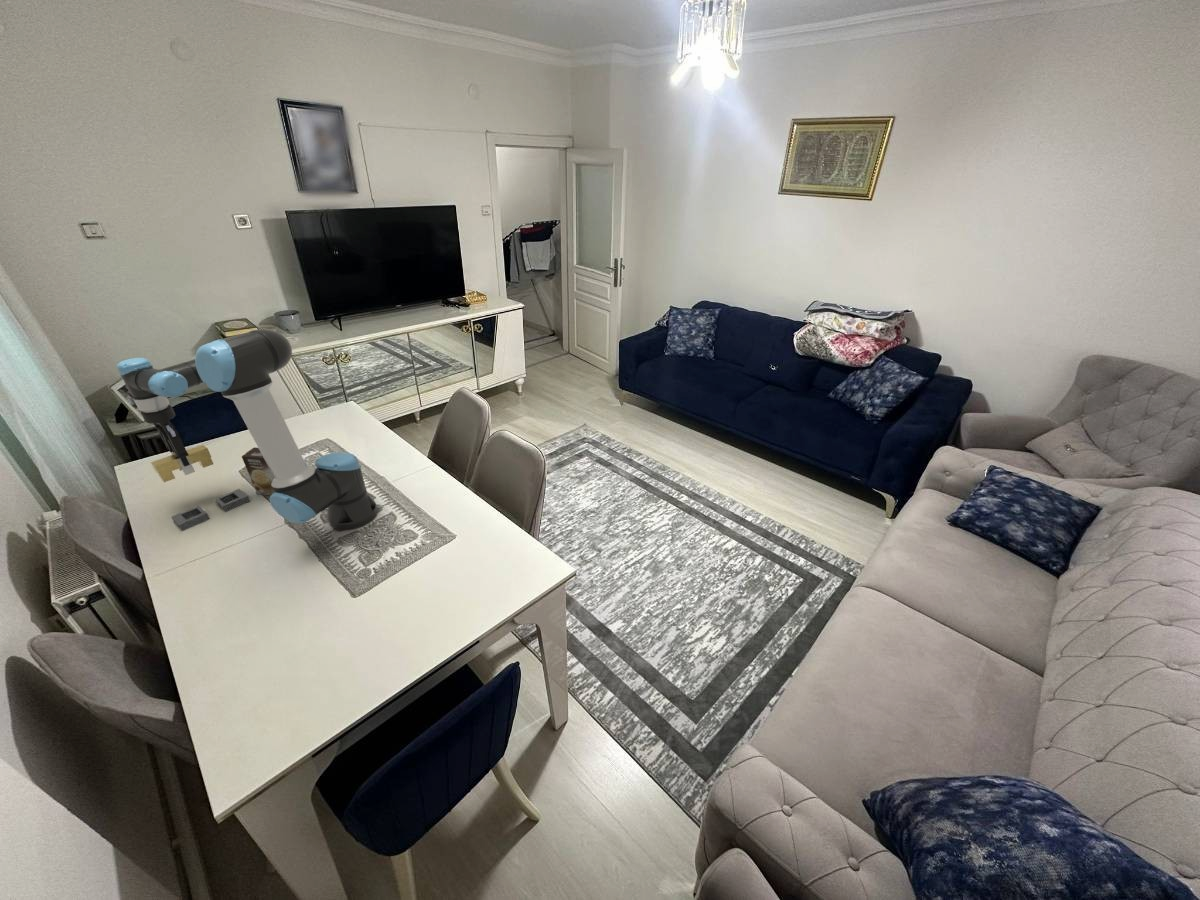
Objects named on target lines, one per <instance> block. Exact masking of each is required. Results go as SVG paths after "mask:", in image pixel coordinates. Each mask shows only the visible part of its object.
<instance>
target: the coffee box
mask: <svg viewBox="0 0 1200 900" xmlns="http://www.w3.org/2000/svg"><path fill="white" fill-rule="evenodd" d="M241 458H242V461H243V463H244V465H245V468H246V470H247V473H248V475H249V478H250V481H251V483H252V485H253V487H254V489H255V493H256V494H257V495H265V496H271V495H272V494H273V493H275V491H274V489H273V487H272V485H271V484H272V482H273V480H274V476H273V474H272V472H271V470H270V469H269V467H268V465H267V463H266V461H265V459H264V457H263V455H262V454H261V452H260V450H259V448H258V447H253V448H251V449H250V450H248V451H246V452H245V453H244V454H243V455H241Z"/></svg>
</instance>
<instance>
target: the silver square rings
mask: <svg viewBox="0 0 1200 900" xmlns="http://www.w3.org/2000/svg"><path fill="white" fill-rule="evenodd" d="M214 501H215V503H216V505H217V506H218V507H220V509H222V510H223V512H225V513H227V512H229V511H231V510H233V509H236V508H238V507H241V506H243V505H245V504H247V503H250V502H251V499H250V497H249V495H248V494H246V493H245V492H244V491H242V490H241V489H240V488H237V489H236V490H233V491H230V492H229V493H226V494H224V495H220V496H219V497H216V498H214ZM171 519H172V521H173V523H174V524H175V525H176V526H177V527H178V528H179V529H180V530H181V531H185V530H187V529H190V528H192V527H194V526H197V525H200V524H201V523H203V522H206V521H208V520H210V515H209V514H208V513H207V512H206V511H205V509H204V508H202V507H201V505H196V506H194V507H192V508H190V509H187V510H184V511H182V512H180V513H177V514H175V515H172V516H171Z"/></svg>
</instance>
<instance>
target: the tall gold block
mask: <svg viewBox="0 0 1200 900" xmlns="http://www.w3.org/2000/svg"><path fill="white" fill-rule="evenodd" d="M186 451H187V453H188V458H189V460H190V462H191V464H196V463H199V466H201V467H202V468H204V469H205V468H207V467H210V466H212V465H214V461H213V460H212V455H211V453H210V451H209V449H208V447H207V446H205V445H204V444H201V445H198V446H194V447H191V448H188V449H186ZM175 457H176V454H174V455H172V454H171V455H169V456H165V457H162V458H160V459H157V460H154V461H151V462H150V464H151V466H152V468H153V469H154V471H155V472H156V473H157V474H158V477H159V478H160V480H161V481H162V482H164V483H166V482H168V481H172V480H174V479H176V476H175V475H174V472H173V471H176V470H179V468H181V466H180V464H179V462H178V460H177V459H176V460H175Z"/></svg>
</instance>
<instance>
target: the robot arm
mask: <svg viewBox="0 0 1200 900" xmlns="http://www.w3.org/2000/svg"><path fill="white" fill-rule="evenodd" d="M292 354H293V349H292V346H291V343H290V342H289V340H288V338H286V336H284V335H283V334H282V333H280V332H278V331H276V330H271V329H268V328H267V329H266V328H264V329H263V328H259V329H254V330H250V331H248V332H243V333H240V334H236V335H232V336H229V337H224V338H220V339H216V340H213V341H210V342H208V343H206V344H203V345H201V346H200V347H198V349H197V350H196V353H195V358H194V359H191V360H187V361H185V362H180V363H178V364H174V365H171V366H170V365H169V366H168V367H164V368H159V369H158V368H154V367H153V364H152V363H151V362H150V360H149V359H148V358H145V357H134V358H129V359H128V358H127V359H125V360H122V361H120V362H118V363H117V365H116V368H117V369H118V372H119V375H120V377H121V379H122V381H123V383H124V384H125V385H126V388H127V389H128V392H129V393H130V395H131V397H132V400H133V402H134V404H135V406H137V407H136V408H137V409H138V411H140V414H141V416H142V418H143V420H144V422H145V423H147V424H150V425H154V428H155V429H156V430H157V432H158V434H159V436H160V437H161V439H162V442H163V443H164V445H165V448H166V449H167V450H169V453H171V455H174V454H176V457H175V460H176V459H177V460H178V462H179V464H180V466H181V468H179V469H178V470H179V471H182V472H183V473H184V475H185V476H187V475H190V474H192V473H195V472H196V470H195V468H194V467H193V466H194V465H192V464H191V462H190V460H189V458H188V453H187V451H186V450H187V449H186V446H185V445H184V443H183V441H182V438H181V437H180V434H179V431H178V430H177V429H176V425H175V424H174V422H173V423H172V422H171V421H170V420H172V419H174V418H175V417H176V413H175V411H174V408H173V407H172V404H170V400H169V399H168V398H177V397H182V396H183V395H184V394H185V393H186V392H187V391H188V389H191V388H194V387H197V386H199V385H201V384H202V385H203V384H205V385H206V387H207V388H209V390H212V391H213V392H217V393H218V392H219V393H221V395H222V397H224V398H226V399H229V400H231V401H233V404H234V405H235V407H236V409H237V411H238V413H239V415H240V416H241V419H242V420H243V421H244V423H245V425H246V428H247V429H248V431H249V433H250V434H251V436H252V438H253V439H252V440H254V442H255V444H256V446H257V448H259V450H260V452H261V454H262V455H263V457H264V459H265V461H266V463H267V465H268V467H269V469H270V470H271V472H272V474H273V476H274V480H273V482H272V484H271V485H272V487H273V489H274V491H275V493H273V494H272V495H269V503H270V506H271V507H272V509H273V510H274V511H275V512H276V513H277V514H278V515H279V516H280V517H282V518H283V519H285V520H286V521H288V522H290V523H292V524H298V525H299V524H304V523H306V522H308V521H310V520H311V519H313V518H315V517H316V516H317V515H319V514H320V513H322V512H323V511H325V510H326V509H327V516H326V517H327V521H328V523H329V526H330V527H331V528H334V529H335V530H341V531H342V530H343V531H348V530H353V529H357V528H360V527H363V526H365V525H366V524H368V523H370V522H372V521H373V520H374V519H375V518H376V516H377V515H378V512H379V511H378V510H379V509H378V505H377V503H376V501H375V500H374V498H373V497H372V496H371V495H370V493H369V492H368V491H367V486H366V484H365V483H366V482H365V480H364V476H363V472H362V468H361V467H362V465H360V462H359V460H358V458H357V456H356V455H355V454H353V453H350V452H340V451H339V452H338V451H337V452H332V453H331V452H330V453H328V454H327V453H326V454H324V455H322V456H320V457H318V458H316V462H315V467H316V468H315V467H314V466H309V465H307V462H306V461H305V459H304V457H303V455H302V453H301V451H300V449H299V446H298V445H297V443H296V441H295V438H294V437H293V435H292V432H291V431H290V429H289V427H288V425H287V423H286V420H285V418H284V417H283V414H282V413H281V411H280V408H279V407H278V404H277V402H276V400H275V399H274V397H273V394H272V393H271V392H272V391H270V389H271V387H272V384H273V380H272V378H271V376H270V374H272V373H274V372H275V373H276V372H277V371H280V370H281V369H283V368H284V367H286V366H287V365H288V364H289V362H290V361H291V359H292V356H293V355H292Z"/></svg>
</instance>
